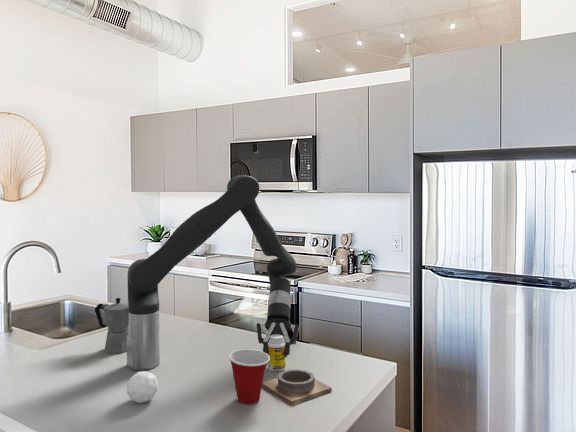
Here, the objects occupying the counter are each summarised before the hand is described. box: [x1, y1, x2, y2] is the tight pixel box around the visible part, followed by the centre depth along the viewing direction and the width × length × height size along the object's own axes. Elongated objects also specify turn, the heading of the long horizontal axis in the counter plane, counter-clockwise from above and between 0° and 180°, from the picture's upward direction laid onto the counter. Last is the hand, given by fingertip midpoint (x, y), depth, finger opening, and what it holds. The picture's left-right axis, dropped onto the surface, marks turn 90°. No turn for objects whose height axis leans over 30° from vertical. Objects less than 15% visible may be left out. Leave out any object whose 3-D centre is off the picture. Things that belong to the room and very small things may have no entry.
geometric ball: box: [126, 370, 159, 404], centre depth 118 cm, size 8×8×8 cm
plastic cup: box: [228, 348, 270, 405], centre depth 119 cm, size 11×11×12 cm
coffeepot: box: [94, 297, 129, 355], centre depth 156 cm, size 15×9×18 cm, turn 79°
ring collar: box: [262, 368, 333, 406], centre depth 126 cm, size 14×14×4 cm
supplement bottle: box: [266, 334, 286, 372], centre depth 140 cm, size 6×6×10 cm
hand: (276, 355), depth 138 cm, fingers closed on supplement bottle, 5 cm apart
